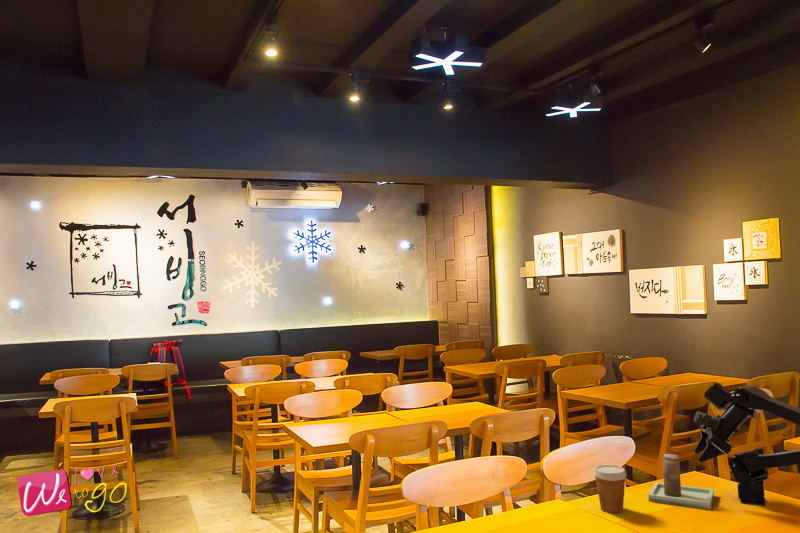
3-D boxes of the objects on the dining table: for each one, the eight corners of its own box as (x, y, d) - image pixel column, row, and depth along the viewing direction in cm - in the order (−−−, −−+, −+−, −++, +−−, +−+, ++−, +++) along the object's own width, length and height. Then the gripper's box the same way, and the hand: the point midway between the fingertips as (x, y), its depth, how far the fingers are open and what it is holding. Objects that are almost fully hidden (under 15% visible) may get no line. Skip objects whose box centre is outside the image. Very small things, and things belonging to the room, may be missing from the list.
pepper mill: (684, 494, 185) (682, 455, 186) (676, 497, 182) (674, 458, 183) (669, 490, 189) (667, 452, 189) (661, 494, 186) (659, 455, 186)
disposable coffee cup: (631, 515, 173) (628, 474, 173) (597, 514, 175) (594, 473, 175) (625, 504, 182) (623, 464, 182) (593, 503, 184) (591, 464, 184)
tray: (714, 495, 185) (713, 489, 185) (710, 509, 174) (709, 502, 174) (655, 488, 194) (655, 482, 195) (648, 501, 183) (648, 494, 184)
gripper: (703, 396, 195) (672, 432, 198) (713, 408, 177) (678, 447, 180) (734, 419, 192) (701, 455, 195) (746, 434, 174) (710, 472, 177)
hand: (697, 456), depth 187 cm, fingers open, 9 cm apart
